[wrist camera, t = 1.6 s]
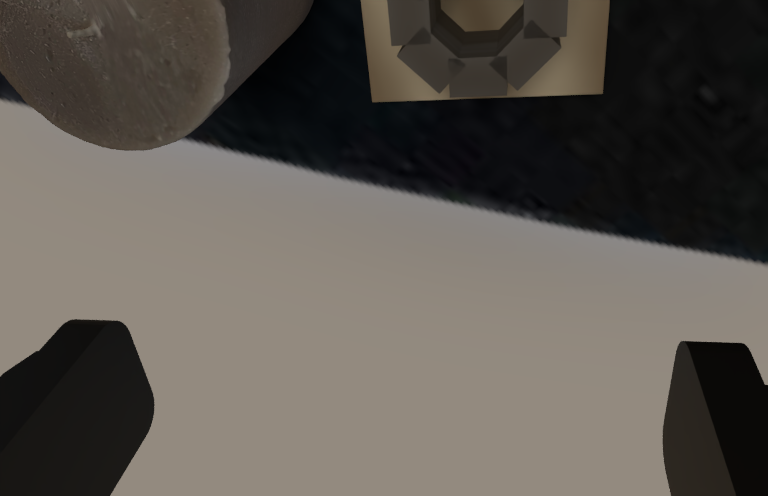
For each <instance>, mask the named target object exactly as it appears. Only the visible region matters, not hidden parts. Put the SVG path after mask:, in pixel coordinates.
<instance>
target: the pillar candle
mask: <svg viewBox="0 0 768 496" xmlns="http://www.w3.org/2000/svg"><path fill="white" fill-rule="evenodd" d="M313 1H314V0H0V71H1V73H2V74H3V75H4V76H5V77H6V79H7V80H8V81H9V83H10V84H11V85H12V86H13V87H14V88H15V89H16V91H17V92H18V93H19V94H20V95H21V96H22V98H23V100H24V101H26V102H27V103H28V104H29V105H30V106H31V107H32V108H34V109H35V110H36V111H37V112H39V113H41V114H42V115H43V116H44V117H45V118H46V119H47V120H49V121H50V122H51V123H52V124H54V125H55V126H57V127H58V128H60V129H62V130H63V131H65V132H67V133H69V134H71V135H73V136H75V137H78V138H79V139H82V140H84V141H86V142H89V143H93V144H96V145H98V146H101V147H106V148H110V149H117V150H150V149H153V148H157V147H161V146H163V145H167V144H170V143H173V142H176V141H178V140H180V139H181V138H183V137H185V136H186V135H188V134H189V133H191V132H192V131H193V130H195V129H196V128H197V127H198V126H199V125H201V124H202V123H203V122H204V121H205V120H206V119H207V118H208V117H209V116H210V115H211V114H212V113H213V112H214V111H215V110H216V109H217V108H218V107H219V106H220V105H221V104H222V103H223V102H224V101H225V100H226V99H227V98H228V97H229V96H230V95H231V94H232V93H233V92H234V91H235V90H236V89H237V88H238V87H239V86H240V85H241V84H242V83H243V82H244V81H245V80H246V79H247V78H248V77H249V76H250V75H251V74H252V73H253V72H254V71H255V70H256V69H257V68H258V67H259V66H260V65H261V64H262V63H263V62H264V61H265V60H266V59H267V58H268V57H270V55H271V54H272V53H273V52H274V51H275V50H276V49H277V48H278V47H279V46H280V45H281V44H282V43H283V42H284V41H286V40H287V39H288V38H289V37H290V36H291V35H292V34H293V33H294V32H295V31H296V29H297V28H298V27H299V26H300V25H301V24H302V22H303V21H304V20H305V18H306V16H307V15H308V13H309V11H310V9H311V6H312V4H313Z"/></svg>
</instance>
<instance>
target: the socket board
mask: <svg viewBox="0 0 768 496" xmlns="http://www.w3.org/2000/svg"><path fill="white" fill-rule="evenodd" d="M609 4H610V0H361V6H362V15H363V24H364V33H365V41H366V50H367V59H368V68H369V77H370V86H371V95H372V102H393V101H420V100H448V99H475V98H503V97H530V96H558V95H586V94H603V83H604V70H605V57H606V43H607V30H608V17H609Z"/></svg>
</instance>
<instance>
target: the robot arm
mask: <svg viewBox="0 0 768 496" xmlns="http://www.w3.org/2000/svg"><path fill="white" fill-rule="evenodd" d="M153 415H154V397H153V393H152V390H151V387H150V384H149V382H148V379H147V377H146V374H145V371H144V369H143V366H142V363H141V361H140V358H139V355H138V353H137V350H136V347H135V345H134V343H133V340H132V337H131V334H130V332H129V330H128V328H127V327H126V325H124V324H123V323H122V322H120V321H106V320H77V319H75V320H70V321H68V322H66V323H65V324H63V325H62V326H61V327H60V328H59V329H58V330H57V332H56V333H55V334H54V335H53V336H52V337H51V338H50V339H49V340H48V342H47V343H46V344H45V345H44V346H43V347H42V348H41V349H40V350H39V351H36V352H35V353H33V354H32V355H30V356H29V357H27V358H26V359H24V360H23V361H21V362H20V363H18V364H17V365H15V366H14V367H12V368H11V369H9V370H8V371H7V372H5V373H4V374H3V375H2V376H1V377H0V496H110V495H111V493H112V491H113V490H114V488H115V486H116V485H117V483H118V481H119V480H120V478H121V476H122V475H123V473H124V472H125V470H126V468H127V467H128V465H129V463H130V462H131V460H132V458H133V457H134V455H135V453H136V452H137V450H138V449H139V447H140V445H141V443H142V442H143V440H144V439H145V437H146V435H147V433H148V432H149V429H150V427H151V423H152V420H153ZM663 455H664V464H665V470H666V474H667V479H668V483H669V488H670V492H671V496H768V385H765V384H764V382H763V380H762V377H761V375H760V373H759V370H758V368H757V366H756V363H755V361H754V359H753V357H752V354H751V352H750V350H749V348H748V347H747V346H746V345H745V344H742V343H722V342H691V341H682V342H680V344H679V346H678V348H677V351H676V356H675V362H674V367H673V373H672V379H671V385H670V390H669V396H668V401H667V407H666V413H665V419H664V426H663Z"/></svg>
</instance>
